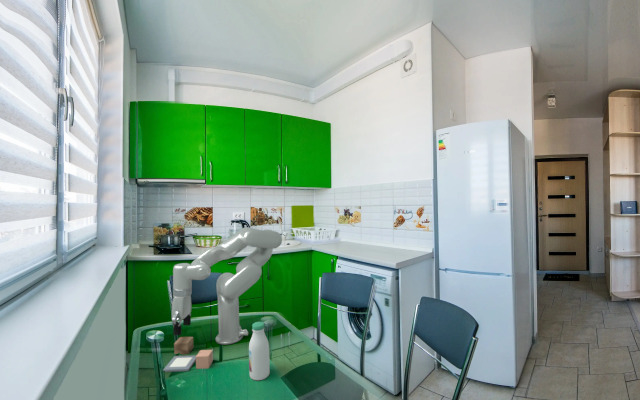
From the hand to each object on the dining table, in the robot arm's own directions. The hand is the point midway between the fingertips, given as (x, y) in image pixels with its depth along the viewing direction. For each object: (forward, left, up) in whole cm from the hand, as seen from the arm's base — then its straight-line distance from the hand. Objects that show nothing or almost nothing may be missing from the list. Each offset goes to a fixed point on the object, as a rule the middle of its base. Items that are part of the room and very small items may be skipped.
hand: (182, 329), depth 136 cm
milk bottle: (-38, +20, -10) cm, 44 cm away
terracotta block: (-14, +12, -10) cm, 20 cm away
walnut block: (0, 0, -10) cm, 10 cm away
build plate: (-4, +11, -10) cm, 15 cm away
